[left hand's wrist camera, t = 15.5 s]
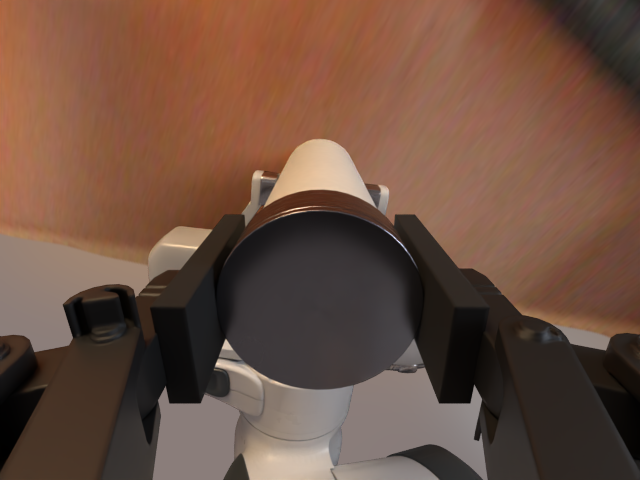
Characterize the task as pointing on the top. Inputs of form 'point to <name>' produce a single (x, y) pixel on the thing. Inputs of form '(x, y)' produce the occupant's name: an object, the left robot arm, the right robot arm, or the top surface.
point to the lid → (319, 292)
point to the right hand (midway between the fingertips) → (320, 179)
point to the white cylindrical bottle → (319, 172)
